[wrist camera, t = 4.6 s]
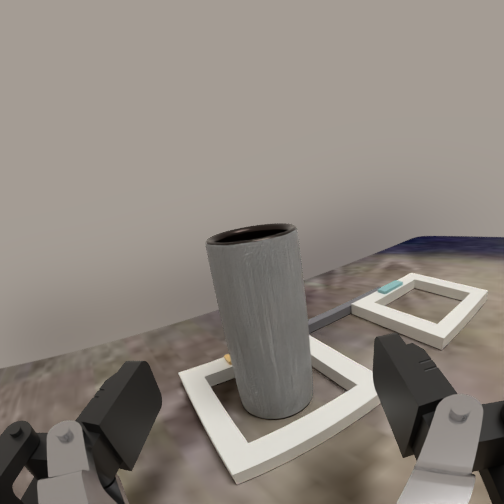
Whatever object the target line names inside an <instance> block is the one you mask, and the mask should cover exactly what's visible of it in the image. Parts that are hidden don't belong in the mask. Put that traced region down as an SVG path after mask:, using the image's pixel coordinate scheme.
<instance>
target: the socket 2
mask: <svg viewBox="0 0 504 504" xmlns="http://www.w3.org/2000/svg"><path fill="white" fill-rule="evenodd" d="M414 288H417V289H420V290H424V291H428V292H432V293H435V294H439V295H443V296H446V297H450V298H454V299H458V300H461V301H462V302H461V303H460V304H459V305H458V306H457V307H456V308H454V309H453V310H452V311H451V312H450V313H449V314H448V315H447V316H446V317H445V318H444V319H443V320H441V321H440V322H439V323H438V324H435V323H433V322H430V321H427V320H424V319H421V318H418V317H415V316H412V315H409V314H406V313H403V312H400V311H397V310H395V309H392V308H389V307H386V305H387V304H389V303H391V302H392V301H394V300H396V299H397V298H399V297H401V296H402V295H404V294H406V293H407V292H409V291H411V290H412V289H414ZM487 294H488V290H483V289H479V288H475V287H471V286H467V285H462V284H458V283H454V282H449V281H445V280H441V279H437V278H432V277H428V276H423V275H419V274H415V273H410V274H408V275H406V276H404V277H403V278H401V279H399V280H395V281H393V282H391V283H389V284H387V285H385V286H383V287H381V288H379V289H378V291H376V292H374V293H372V294H370V295H368V296H366V297H364V298H362V299H360V300H358V301H356V302H354V303H352V304H351V310H352V314H354V315H356V316H359V317H361V318H364V319H366V320H368V321H371V322H373V323H376V324H378V325H381V326H383V327H386V328H388V329H391V330H393V331H395V332H398V333H400V334H403V335H405V336H408V337H410V338H413V339H415V340H418V341H420V342H423V343H425V344H428V345H430V346H433V347H435V348H438V349H440V350H442V349H443V348H444V347H445V346H446V345H447V344H448V343H449V342H450V341H451V340H452V339H453V338H454V337H455V336H456V335H457V334H458V333H459V332H460V331H461V330H462V329H463V327H464V326H465V325H466V324H467V323H468V322H469V321H470V320H471V318H472V317H473V316H474V315H475V314H476V313H477V311H478V310H479V309H480V308H481V307H482V305H483V304H484V303H485V302H486V300H487Z"/></svg>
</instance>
